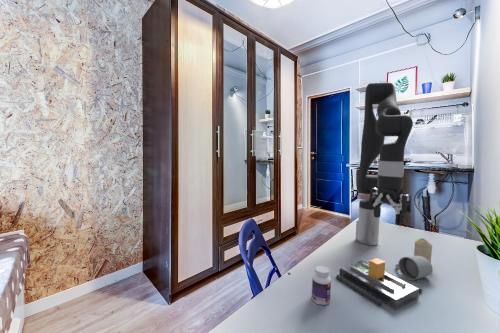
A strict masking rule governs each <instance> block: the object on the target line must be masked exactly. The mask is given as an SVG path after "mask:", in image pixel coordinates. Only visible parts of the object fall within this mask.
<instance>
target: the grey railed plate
mask: <svg viewBox="0 0 500 333" xmlns="http://www.w3.org/2000/svg"><path fill="white" fill-rule="evenodd" d="M390 274H391V275H393V276H395V275H394V274H392V273H390ZM335 277H336V279H337V280H339V281H341V282H342V283H343V284H345V285H347V286H348V287H350V288H352V289H353V290H354V291H355V292H357V293H359V294H361V295H363V296H364V297H366V298H367V299H368V300H370V301H371V302H374V303H375V304H376V305H378V306H380V307H381V306H382V304H383V302H382V301H380V300H379V299H377V298H375V297H374V296H372V295H371V294H369V293H367V292H366V291H364V290H362V289H361V288H359V287H358V286H356V285H354V284H353V283H351V282H350V281H348V280H346V279H345V278H343V277H341V276H340V275H339V274H336V276H335ZM395 277H397V276H395ZM397 278H399V277H397ZM399 279H401V278H399ZM401 280H403V279H401ZM403 281H405V282H407V281H406V280H403ZM407 283H409V284H411V285H413V286H415V287H417V288H419V294H421V293H422V292H423V290H422V288H420V287H418V286H416V285H414V284H412V283H410V282H407Z"/></svg>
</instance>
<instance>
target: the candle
mask: <svg viewBox="0 0 500 333" xmlns="http://www.w3.org/2000/svg"><path fill="white" fill-rule="evenodd" d="M432 252H433V244H432V243H431V242H430V241H428V240H427V239H425V238H419V239H416V240H415V241H414V250H413V256H422V257H425V258H426V259H427V260H428V261H429V262H430V263H431V264H432Z"/></svg>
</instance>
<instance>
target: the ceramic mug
mask: <svg viewBox="0 0 500 333" xmlns="http://www.w3.org/2000/svg"><path fill="white" fill-rule="evenodd" d="M394 265H395V268H396V270H399V272H400V273H401V275H402V276H403V277H404V278H406V279H407V280H409V281H410V280H411V281H416V280H419V279H423V278H427V277H429V276H431V274H432V273H433V265H432V262H431V263H430V262H429V261H428V260H427V259H426V258H425V257H422V256H414V255H411V256H410V255H409V256H403V257H401V258H400V259H399V260H398V263H396V264H394Z"/></svg>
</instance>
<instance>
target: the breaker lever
mask: <svg viewBox="0 0 500 333" xmlns="http://www.w3.org/2000/svg"><path fill="white" fill-rule="evenodd" d="M368 264H369V273H368V274H369V275H371V276H373V277H374V278H376V279H378V278H381V277H383V276H384V274H385V272H386V261H384V260H383V259H380V258H378V257H375V258H373V259H369V260H368Z"/></svg>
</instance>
